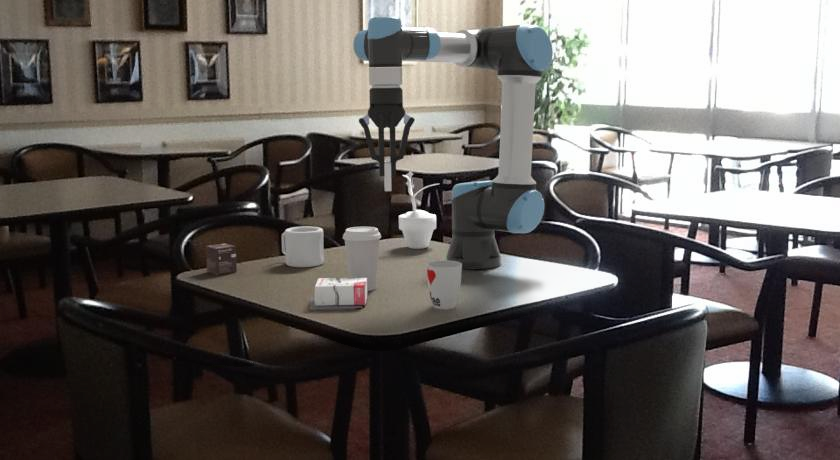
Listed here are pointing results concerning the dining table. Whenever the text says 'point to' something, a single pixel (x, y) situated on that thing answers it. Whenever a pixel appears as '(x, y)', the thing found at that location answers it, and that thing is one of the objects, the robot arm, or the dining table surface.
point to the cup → (444, 283)
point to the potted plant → (416, 222)
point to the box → (221, 259)
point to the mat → (331, 306)
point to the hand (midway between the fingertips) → (388, 190)
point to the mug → (303, 246)
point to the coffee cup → (362, 253)
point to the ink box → (340, 291)
